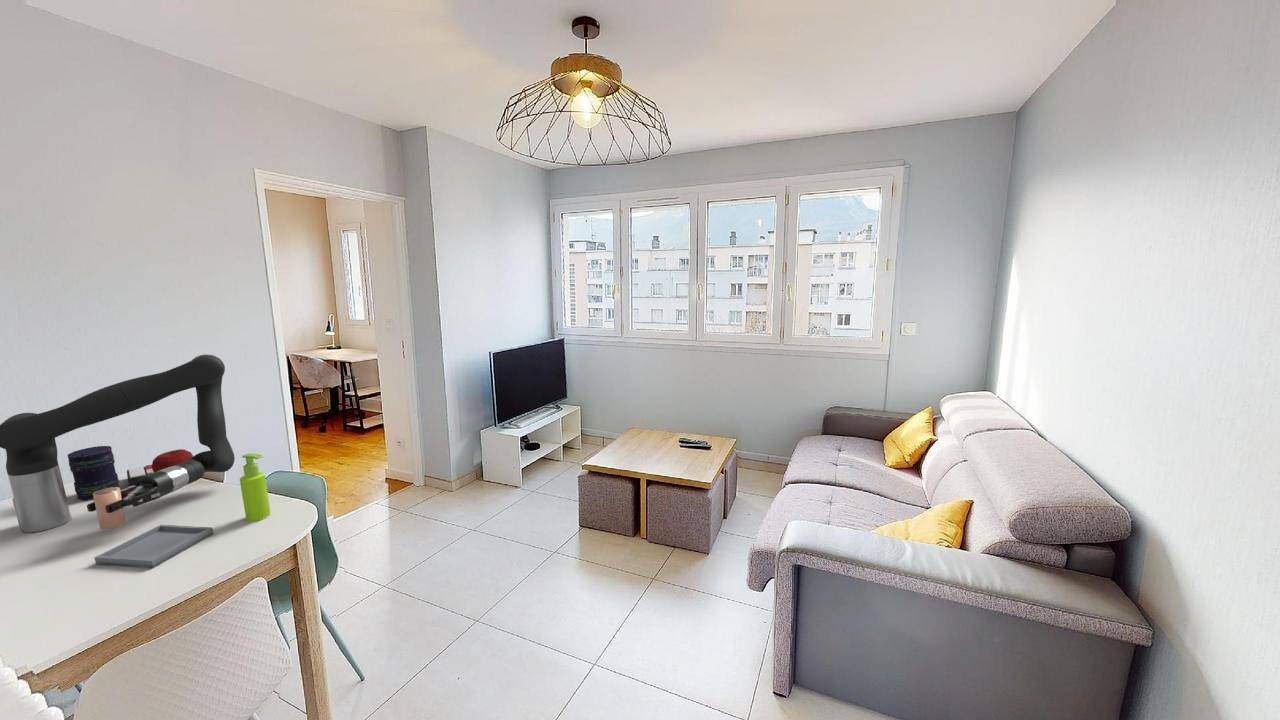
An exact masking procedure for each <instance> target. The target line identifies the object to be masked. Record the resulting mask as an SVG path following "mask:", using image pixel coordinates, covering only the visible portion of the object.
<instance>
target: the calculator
mask: <svg viewBox="0 0 1280 720" xmlns="http://www.w3.org/2000/svg"><path fill="white" fill-rule="evenodd" d="M152 473H154V472H153V470H152V464H148V465H145V466H139V467H133V468H128V469H127V470H126V476H127V482H128V487H130V486H135V485H136V484H137V482H138V480H139V479H140V478H142V477H144V476H147V475H149V474H152Z"/></svg>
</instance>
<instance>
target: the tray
mask: <svg viewBox="0 0 1280 720" xmlns="http://www.w3.org/2000/svg"><path fill="white" fill-rule="evenodd" d="M214 534H215V533H214V529H213V527H211V526H210V527H208V526H195V525H194V526H193V525H191V526H190V525H174V524H171V525H170V524H159V525H157V526H155V527H154V528H152V529H150V530H147V531H145V532H143V533H141V534H138V535H137V536H135V537H133V538H130V539H129V540H127V541H125V542H123V543H120V544H119V545H117V546H115V547H113V548H110V549H109V550H107V551H104V552H103V553H100V554H98V555H97V556H94V562H95V565H96V566H97V565H98V566H115V567H129V568H131V567H133V568H143V569H144V568H146V569H155V568H157V567H158V566H159V565H161V564H163V563H165V562H167V561H168V560H170V559H172V558H174V557H176V556H177V555H179V554H181V553H182V552H185V551H186V550H188V549H189V548H191V547H193V546H195V545H197V544H198V543H200V542H202V541H204V540H206V539H207V538H209V537H211V536H213V535H214Z"/></svg>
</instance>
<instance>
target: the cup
mask: <svg viewBox="0 0 1280 720" xmlns="http://www.w3.org/2000/svg"><path fill="white" fill-rule="evenodd" d="M119 487H120V486H119ZM119 487H111V488H106V489H102V490H99V491H96V492H94V493H93V497H94V500H93V502H95V507H96V510H95V511H96V515H97V521H98V525H99V528H100V530H111V529H114V528H118V527H121V526H122V525H125V524H126V523H127V519H126V518H127V517H126V514H125V507H123V508H121V509H119V510H116V511H114V512H112V513H107V512H106V508H105V507H106V506H107V505H109V504H111V503H114V502H116V501H119V500H122V497H121V492H120V488H121V487H120V488H119Z"/></svg>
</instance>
